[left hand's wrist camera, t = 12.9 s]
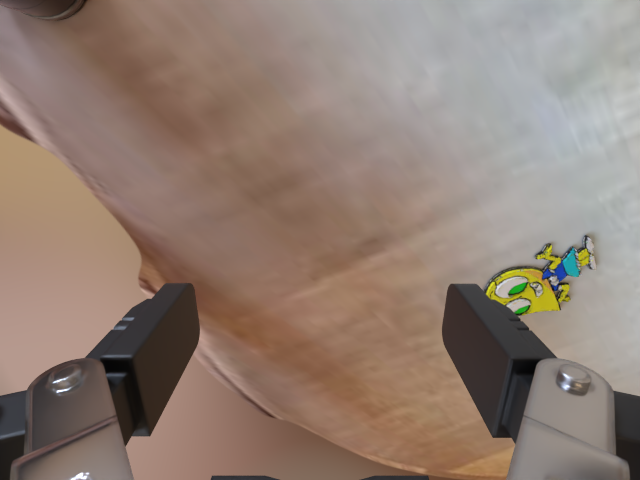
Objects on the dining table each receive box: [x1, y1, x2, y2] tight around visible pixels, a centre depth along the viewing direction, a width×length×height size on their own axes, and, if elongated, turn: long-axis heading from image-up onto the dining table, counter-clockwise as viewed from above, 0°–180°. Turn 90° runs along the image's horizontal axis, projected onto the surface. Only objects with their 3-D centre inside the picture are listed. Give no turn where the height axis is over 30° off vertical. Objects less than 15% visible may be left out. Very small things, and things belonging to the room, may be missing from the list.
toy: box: [484, 235, 596, 317], centre depth 44 cm, size 10×1×15 cm
